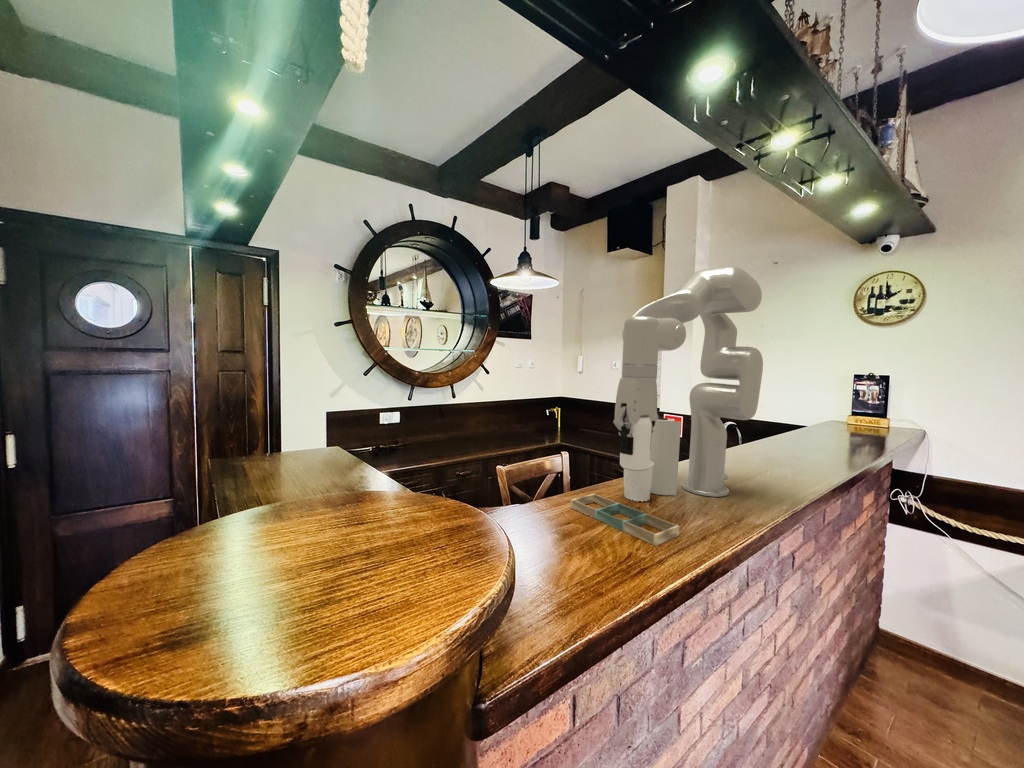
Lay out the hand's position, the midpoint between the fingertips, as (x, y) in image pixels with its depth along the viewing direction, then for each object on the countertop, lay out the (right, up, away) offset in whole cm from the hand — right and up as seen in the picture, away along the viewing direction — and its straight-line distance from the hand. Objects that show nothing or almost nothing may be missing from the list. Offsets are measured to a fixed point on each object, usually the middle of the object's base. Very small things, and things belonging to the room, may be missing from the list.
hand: (635, 451), depth 95 cm
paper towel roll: (+14, -16, +25) cm, 33 cm away
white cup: (+6, -16, +20) cm, 27 cm away
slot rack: (-2, -17, +3) cm, 17 cm away
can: (0, -4, 0) cm, 4 cm away
